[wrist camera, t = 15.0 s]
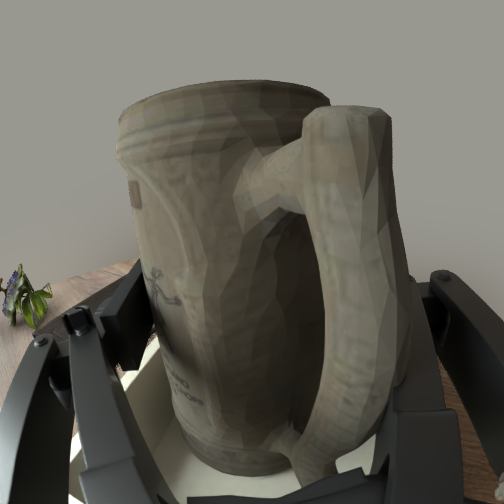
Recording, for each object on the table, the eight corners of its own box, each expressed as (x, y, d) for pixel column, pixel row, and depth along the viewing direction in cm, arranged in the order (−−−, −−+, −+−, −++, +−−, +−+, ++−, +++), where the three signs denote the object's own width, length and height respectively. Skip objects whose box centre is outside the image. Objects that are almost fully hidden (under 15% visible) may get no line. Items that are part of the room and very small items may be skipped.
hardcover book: (203, 290, 44) (200, 276, 43) (92, 384, 24) (83, 368, 23) (134, 281, 50) (131, 270, 50) (37, 344, 31) (30, 331, 30)
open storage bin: (377, 361, 24) (386, 292, 21) (383, 584, 5) (436, 575, 2) (206, 358, 28) (190, 295, 26) (106, 533, 9) (35, 486, 6)
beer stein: (159, 393, 20) (98, 125, 13) (268, 349, 26) (260, 113, 18) (264, 554, 8) (211, -94, 1) (398, 455, 13) (501, 108, 6)
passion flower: (28, 349, 38) (-5, 299, 37) (64, 316, 46) (32, 270, 45) (18, 340, 30) (-19, 279, 29) (64, 300, 38) (27, 244, 37)
